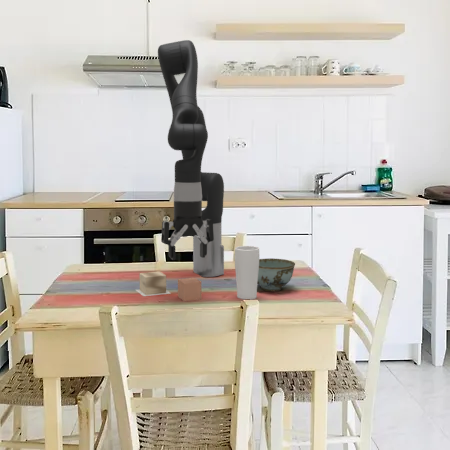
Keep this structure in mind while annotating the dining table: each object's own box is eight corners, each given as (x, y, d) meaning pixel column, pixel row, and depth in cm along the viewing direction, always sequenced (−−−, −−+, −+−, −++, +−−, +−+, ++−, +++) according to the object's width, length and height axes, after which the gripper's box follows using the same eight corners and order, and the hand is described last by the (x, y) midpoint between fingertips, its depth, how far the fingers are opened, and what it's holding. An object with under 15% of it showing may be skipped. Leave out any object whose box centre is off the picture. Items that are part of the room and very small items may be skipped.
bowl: (242, 292, 195) (242, 265, 194) (256, 282, 208) (256, 256, 207) (288, 296, 191) (288, 268, 190) (299, 285, 203) (299, 259, 202)
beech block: (159, 288, 195) (159, 271, 194) (166, 292, 189) (166, 275, 188) (139, 290, 192) (139, 273, 191) (145, 295, 187) (145, 277, 186)
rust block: (194, 295, 187) (194, 277, 186) (201, 299, 182) (201, 281, 182) (177, 297, 185) (177, 279, 184) (184, 301, 180) (184, 283, 180)
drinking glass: (230, 299, 187) (230, 246, 185) (252, 297, 190) (252, 245, 187) (240, 305, 181) (241, 250, 179) (263, 302, 183) (263, 249, 181)
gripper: (207, 196, 186) (207, 254, 188) (158, 198, 180) (158, 257, 182) (217, 199, 179) (217, 259, 181) (166, 201, 173) (167, 262, 176)
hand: (187, 258), depth 182 cm, fingers open, 8 cm apart
